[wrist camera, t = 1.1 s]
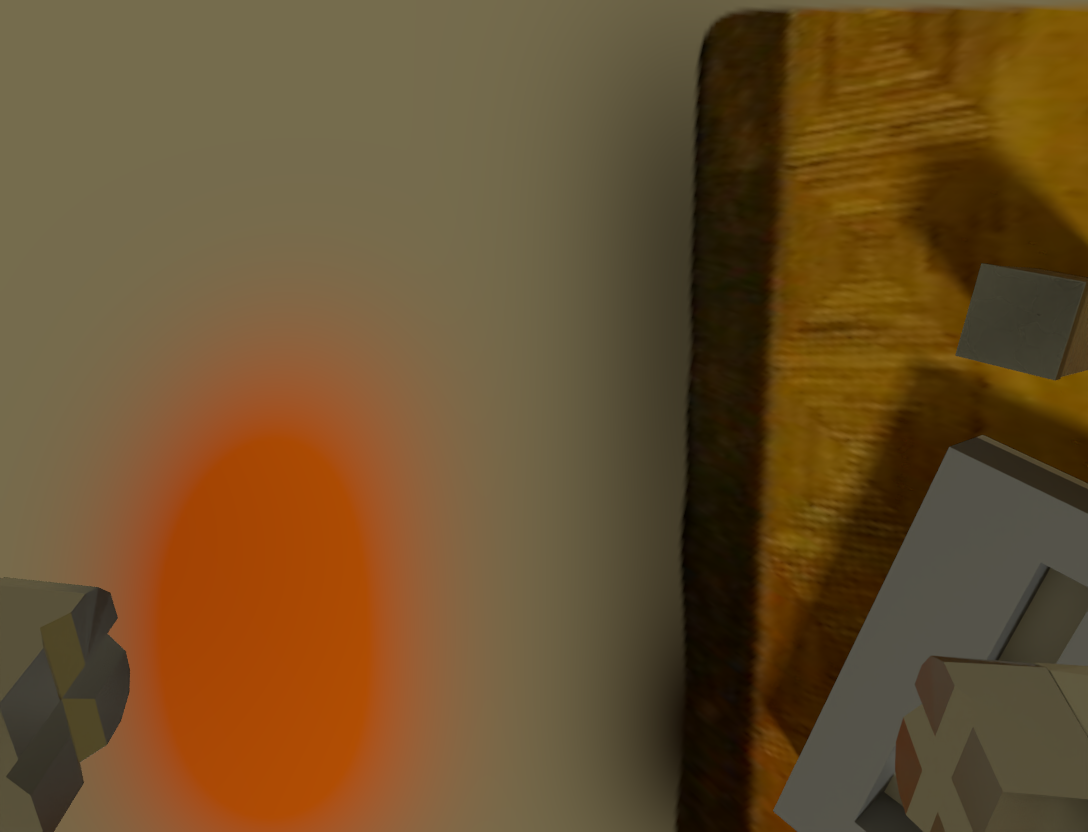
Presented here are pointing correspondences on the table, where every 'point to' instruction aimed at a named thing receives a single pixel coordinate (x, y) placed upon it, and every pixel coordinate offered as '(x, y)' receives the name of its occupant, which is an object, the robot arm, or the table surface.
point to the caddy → (948, 622)
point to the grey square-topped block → (1028, 321)
